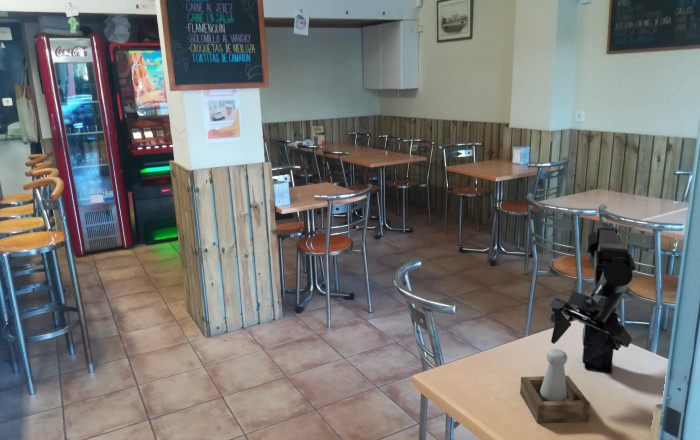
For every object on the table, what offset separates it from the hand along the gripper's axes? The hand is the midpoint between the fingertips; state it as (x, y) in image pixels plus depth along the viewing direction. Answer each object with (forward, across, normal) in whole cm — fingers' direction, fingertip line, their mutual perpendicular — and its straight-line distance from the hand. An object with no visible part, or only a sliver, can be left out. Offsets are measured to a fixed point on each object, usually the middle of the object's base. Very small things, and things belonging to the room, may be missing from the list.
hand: (568, 351), depth 119 cm
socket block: (+12, 0, +6) cm, 14 cm away
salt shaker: (+11, 0, +6) cm, 13 cm away
